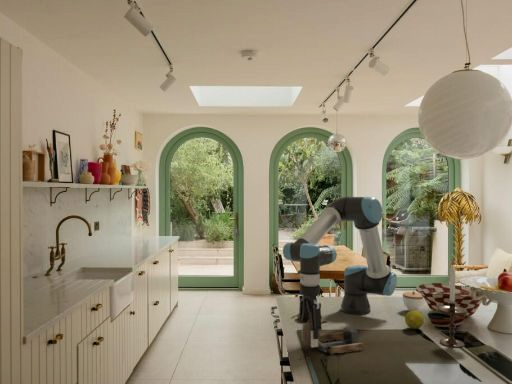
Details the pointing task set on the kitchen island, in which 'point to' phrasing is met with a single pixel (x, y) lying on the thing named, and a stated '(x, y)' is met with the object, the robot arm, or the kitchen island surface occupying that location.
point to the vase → (308, 333)
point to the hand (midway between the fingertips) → (309, 343)
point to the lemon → (414, 319)
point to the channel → (342, 347)
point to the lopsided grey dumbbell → (348, 338)
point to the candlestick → (452, 313)
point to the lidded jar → (413, 300)
